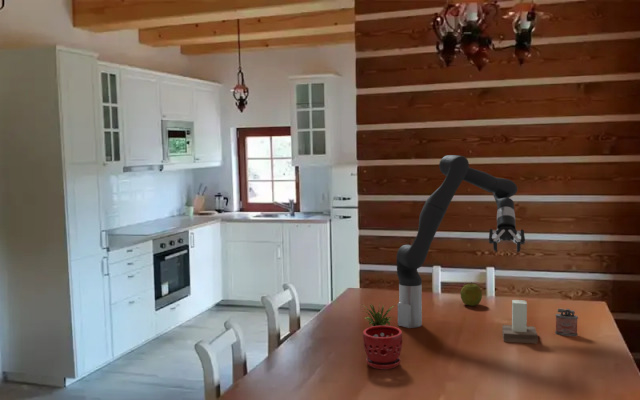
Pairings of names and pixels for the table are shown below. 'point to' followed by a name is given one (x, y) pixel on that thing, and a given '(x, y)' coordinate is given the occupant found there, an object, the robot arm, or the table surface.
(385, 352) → the plant pot
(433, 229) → the robot arm
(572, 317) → the lighter
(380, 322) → the house plant
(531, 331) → the walnut base
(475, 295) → the apple
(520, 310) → the sage pillar
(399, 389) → the table surface
